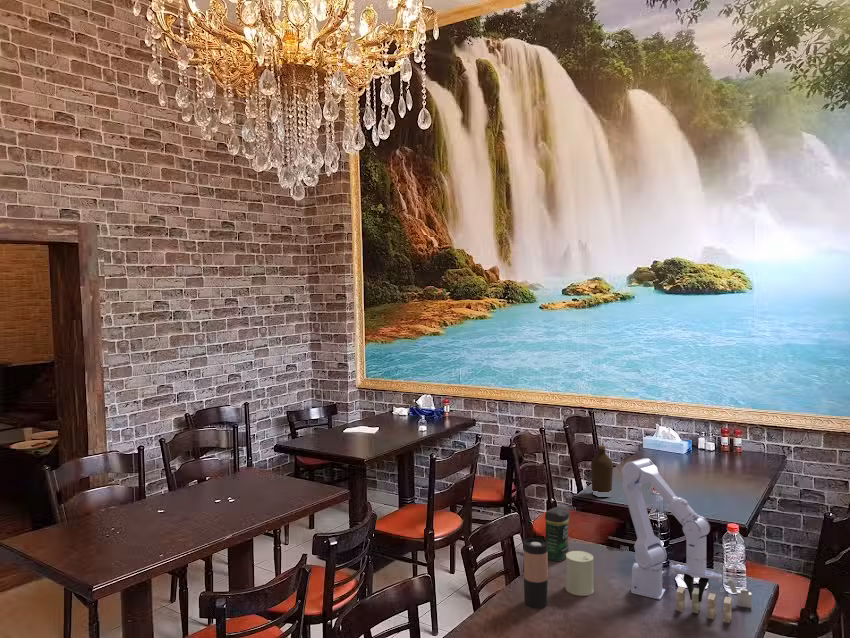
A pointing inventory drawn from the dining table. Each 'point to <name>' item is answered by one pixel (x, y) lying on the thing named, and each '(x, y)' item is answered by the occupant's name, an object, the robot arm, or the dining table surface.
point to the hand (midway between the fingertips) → (696, 599)
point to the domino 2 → (695, 601)
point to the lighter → (741, 595)
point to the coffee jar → (557, 533)
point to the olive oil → (601, 471)
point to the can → (579, 573)
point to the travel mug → (535, 573)
